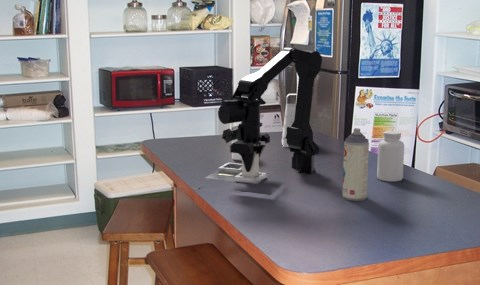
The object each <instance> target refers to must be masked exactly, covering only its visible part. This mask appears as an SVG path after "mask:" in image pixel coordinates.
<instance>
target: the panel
mask: <svg viewBox="0 0 480 285" xmlns="http://www.w3.org/2000/svg"><path fill="white" fill-rule="evenodd" d="M275 173H277V172H276V171H274V170H265V169H259V176H257V177H256V178H252V177H243V176H242V163H238V162H237V163H235V162H226V163H225V164H223V165H221V166H218V170H216V171H214V172H212V173H211V174H208V175H207V176H205V177H204V180H205V179H206V180H216V181H223V182H224V181H225V182H234V183H235V182H236V183H244V184H252V185H260V184H261V183H262V182H264V181H265V180H266V179H268V178H269V177H270V176H271V175H273V174H275Z"/></svg>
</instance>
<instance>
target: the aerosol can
mask: <svg viewBox="0 0 480 285" xmlns="http://www.w3.org/2000/svg"><path fill="white" fill-rule="evenodd" d="M369 149H370V143H369V138H366V136H365V135H364V134H363V133H362V132H361V129H360V128H359V127H358V128H353V132H351V134H349V135H348V137H345V138H344V143H343V164H342V166H343V168H342V169H343V172H342V199H343V200H345V201H348V202H363V201H366V200H367V198H368V196H367V195H368V173H369V170H368V169H369V153H370V152H369V151H370V150H369Z"/></svg>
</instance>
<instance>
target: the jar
mask: <svg viewBox="0 0 480 285" xmlns="http://www.w3.org/2000/svg"><path fill="white" fill-rule="evenodd" d="M236 128H238V125H234V126H231V130H233V129H236ZM236 141H237V139H236V140H233V141H231V144H232V143H234V142H236ZM231 159H232V160H233V161H234V160H236V161H242V157H241V155H240V154H238V153H231Z"/></svg>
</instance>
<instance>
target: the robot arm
mask: <svg viewBox="0 0 480 285" xmlns="http://www.w3.org/2000/svg"><path fill="white" fill-rule="evenodd" d="M292 63H293V64H294V68H295V72H296V74H297V76H298V82H297V90H296V91H297V92H296V94H297V95H296V99H295V100H296V102H295V104H296V109H295V118H294V123H293V124H292V125H291V127H287V134H286V137H285V139H287V144H288V146H289V147H288V148H289V152H291V153H293V154H292V155H293V156H292V157H291V168H292V169H296V170H299V171H298V172H297V173H298V174H306V175H308V174H309V175H311V174H312V173H313V172H314V171H316V167H315V156H316V155H318V154H319V151H320V147H319V145H318V144H316V142H315V141H314V132H313V128H312V127H311V123H310V119H311V112H312V111H311V110H312V101H313V95H314V94H313V93H314V85H315V84H314V83H315V79H316V77H317V76H318V75H319V73H320V71H321V68H322V63H323V56H322V55H321V53H320V52H319V51H318V50H307V49H298V48H295V47H284V48H282V49H281V51H280V52H279V53H278V54H277V55H276V56H274V57H273V58H272V59H271V60H269V61H268V62H267V63H266V64H265V65H264V66H263V67H261V68H260V69H259V70H258V71H256V72H254V73H250V74H248V75H246V76H244V77H242V78H241V79H240V80H239V81H238V82H237V87H236V88H235V91H234V92H233V94H232V96H231V97H230V100H228V99H227V100H226V99H225V100H222V101H221V102H222V104H221V105H220V106H219V108H218V111H217V117H218V120H219V122H220V123H221V124H223V125H227V124H235V123H238V124H237V126H238V128H236V129H233V130H232V128H226V129H224V130H222V137H221V139H222V140H224V142H225V143H226V144H228V143H230V142H231V144H230V146H229V153H231V154H232V153H238V154H240V155H241V157H242V160H243V163H244V166H245V169H246V172H250V170H251V167H252V164H253V161H254V158H255V155H256V153H259V159H260V158H261V156H262V154H263V152H264V149H265V148H266V144H269V143H270V142H271V141H270V140H271V135H270V134H268V133H267V132H261V127H262V126H263V122H261V105H265V104H266V103H267V102H266V101H265V100H264V99H263V98H262V96H263V95H264V93H265V92H266V91H267V90H268V87H269V84H270V83H271V81H273V80H274V79H275V78H276V77H277V76H278V75H280V74H281V73H282V72H283V71H284V70H285V69H287V67H289V66H290V65H291V64H292ZM236 139H237V141H236V142H234V143H232V141H233V140H236ZM262 142H264V144H262ZM242 160H241V161H242Z"/></svg>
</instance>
